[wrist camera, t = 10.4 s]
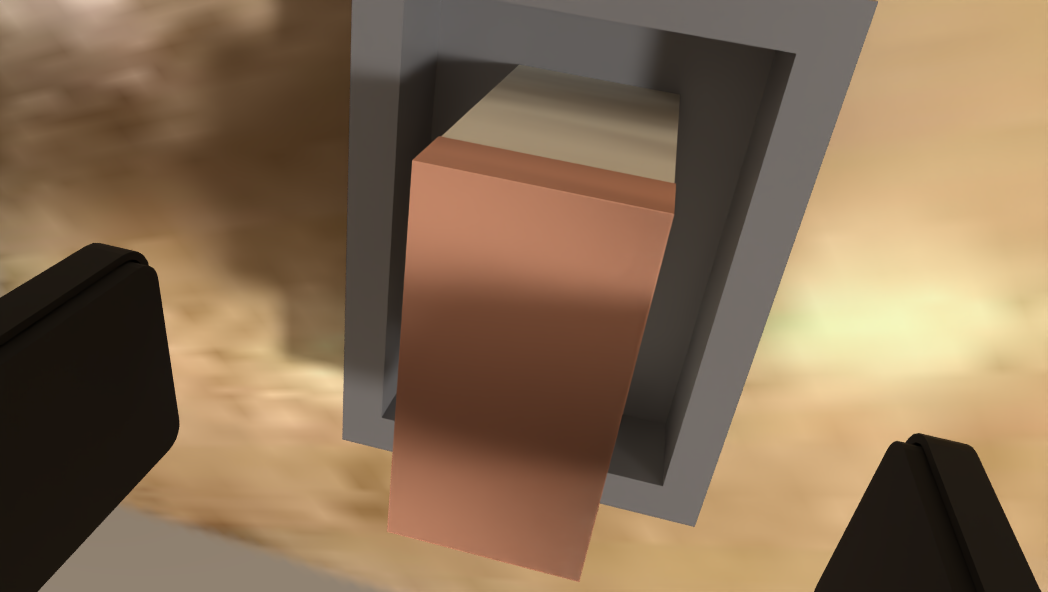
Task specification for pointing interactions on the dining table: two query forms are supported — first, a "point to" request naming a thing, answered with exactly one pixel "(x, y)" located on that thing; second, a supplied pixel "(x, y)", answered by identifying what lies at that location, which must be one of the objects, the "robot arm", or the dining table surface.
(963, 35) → the dining table surface
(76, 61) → the dining table surface
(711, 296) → the tray
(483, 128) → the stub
